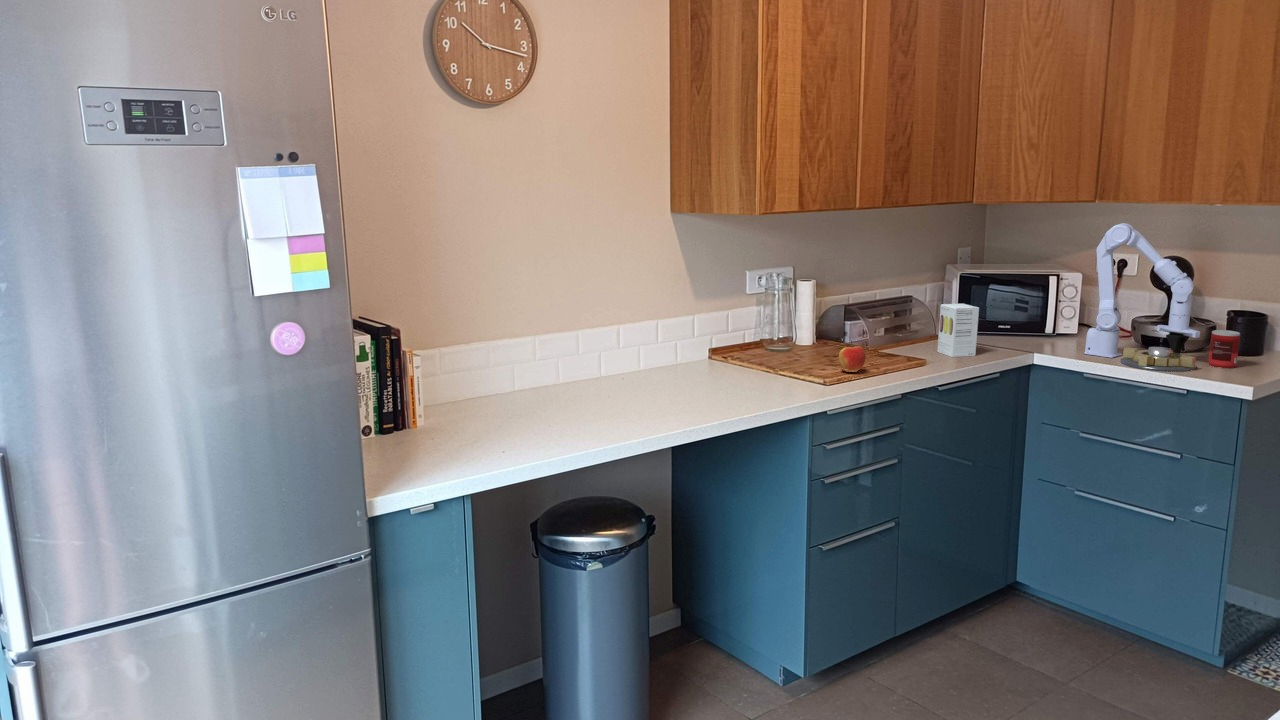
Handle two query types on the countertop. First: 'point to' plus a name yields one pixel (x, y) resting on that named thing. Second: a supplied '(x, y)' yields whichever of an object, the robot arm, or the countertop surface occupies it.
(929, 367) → the countertop surface
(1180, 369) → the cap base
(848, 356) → the apple
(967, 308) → the supplement box
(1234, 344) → the canned food
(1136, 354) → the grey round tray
